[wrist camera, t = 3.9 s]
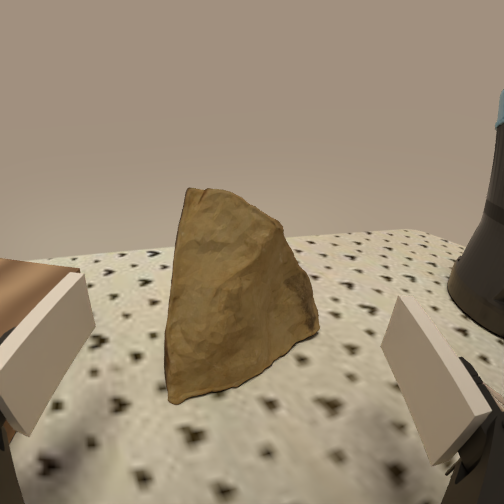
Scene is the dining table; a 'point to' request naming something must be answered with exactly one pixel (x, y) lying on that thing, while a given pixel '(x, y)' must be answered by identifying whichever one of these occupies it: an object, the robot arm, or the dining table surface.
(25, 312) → the plinth
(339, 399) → the dining table surface
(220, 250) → the rock
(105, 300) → the dining table surface
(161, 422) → the dining table surface
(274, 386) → the dining table surface
